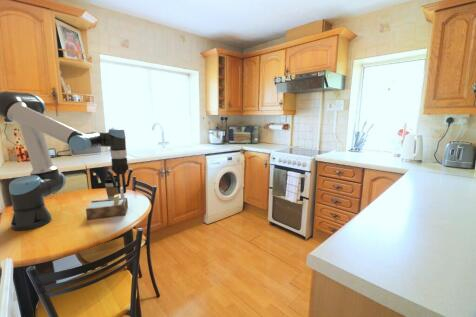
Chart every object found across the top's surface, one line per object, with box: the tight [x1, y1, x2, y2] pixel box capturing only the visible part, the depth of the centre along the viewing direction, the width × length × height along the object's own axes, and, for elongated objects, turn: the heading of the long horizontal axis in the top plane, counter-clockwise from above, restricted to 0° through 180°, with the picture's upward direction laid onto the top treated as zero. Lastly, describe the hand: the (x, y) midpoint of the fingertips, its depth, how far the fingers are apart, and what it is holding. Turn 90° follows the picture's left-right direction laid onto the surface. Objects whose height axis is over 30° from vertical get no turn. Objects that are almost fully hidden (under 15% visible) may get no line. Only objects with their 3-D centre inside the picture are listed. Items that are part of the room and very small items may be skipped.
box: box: [85, 197, 129, 221], centre depth 130 cm, size 18×12×6 cm, turn 108°
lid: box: [87, 194, 124, 208], centre depth 129 cm, size 16×9×5 cm, turn 108°
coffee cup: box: [103, 175, 120, 199], centre depth 148 cm, size 8×8×15 cm
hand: (122, 198), depth 131 cm, fingers closed
